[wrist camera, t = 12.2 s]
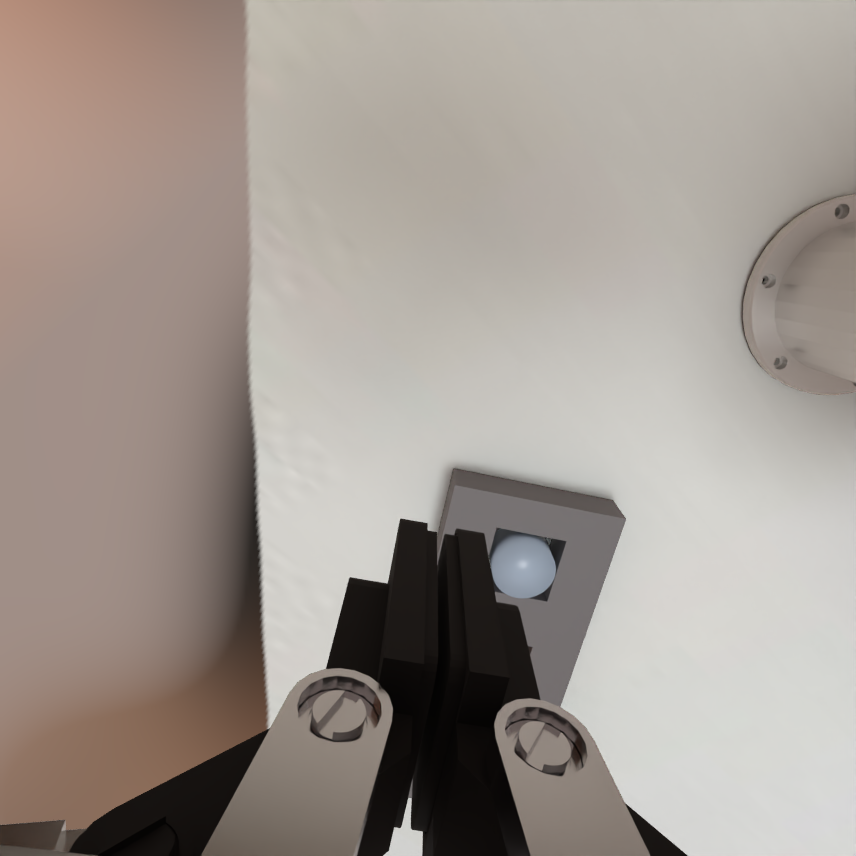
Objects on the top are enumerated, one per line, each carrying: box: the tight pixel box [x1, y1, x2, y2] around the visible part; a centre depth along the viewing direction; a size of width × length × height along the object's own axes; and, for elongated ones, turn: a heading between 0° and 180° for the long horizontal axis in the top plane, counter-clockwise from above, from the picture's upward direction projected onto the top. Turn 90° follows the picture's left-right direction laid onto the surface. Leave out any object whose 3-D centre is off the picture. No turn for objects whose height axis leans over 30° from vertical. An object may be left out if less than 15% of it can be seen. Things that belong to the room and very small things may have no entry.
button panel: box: [408, 469, 626, 798], centre depth 44 cm, size 12×28×3 cm, turn 168°
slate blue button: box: [489, 528, 556, 598], centre depth 41 cm, size 4×4×3 cm
